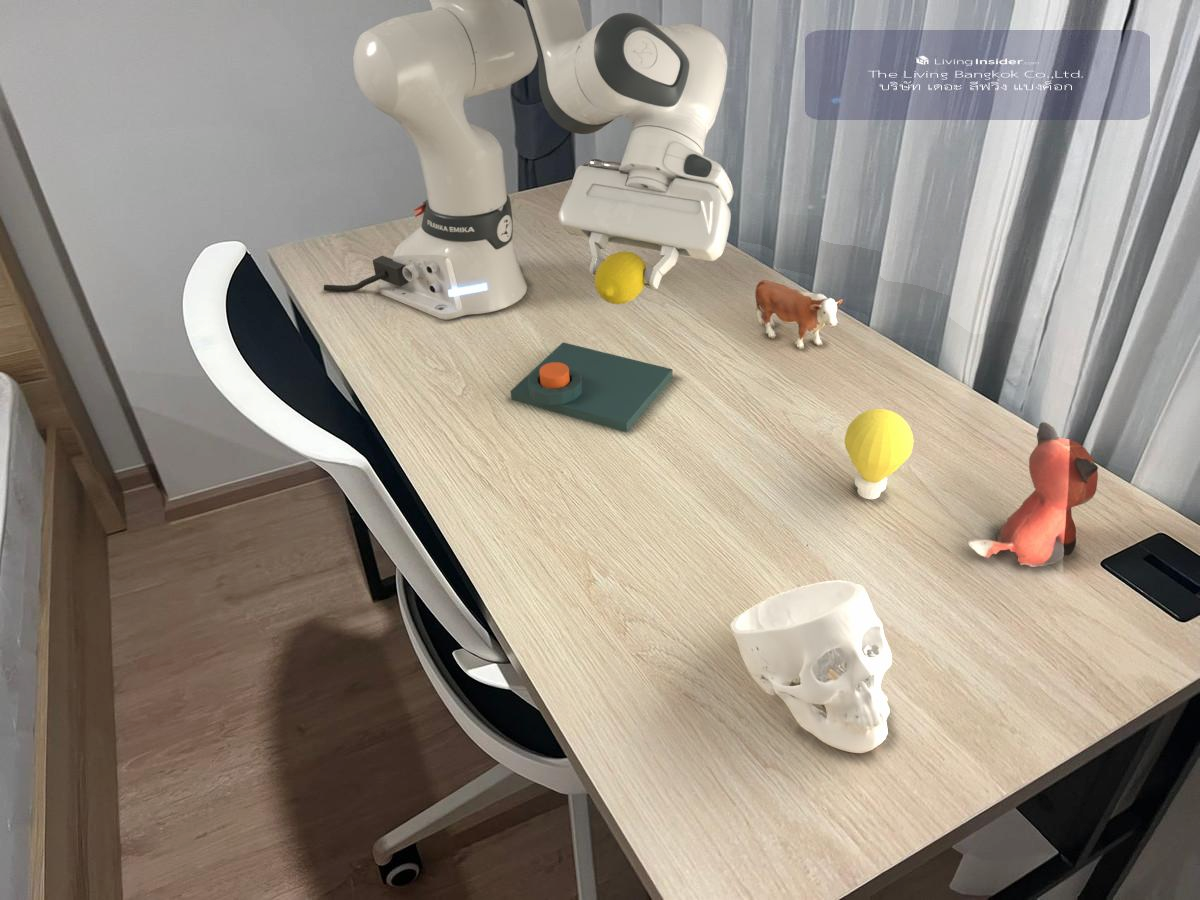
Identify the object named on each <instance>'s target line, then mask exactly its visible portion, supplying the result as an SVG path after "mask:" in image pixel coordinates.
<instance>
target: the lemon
mask: <svg viewBox="0 0 1200 900" xmlns="http://www.w3.org/2000/svg"><path fill="white" fill-rule="evenodd" d="M646 268H647V264H646V263H645V261H644V260H643V258H641V257H640V256H639V255H638V254H636V253H634V252H631V251H619V252H616V253H615V252H614V253H613V254H611V255H609V256H608V257H606V258H605V259H604V261H603V262H602V263H601V264H600V266H599V267H598V269H597V271H596V275H595V276H594V286H595V289H596V292H597V294H598V295H599V296H600V297H601V299H603V300H604V301H605V302H607V303H609V304H612V305H622V304H623V305H624V304H627V303H630V302H631V301H633V300H634V299H636V298H637V297H638V296H639V295H640V294H641V293H642V291H643V289H644V288H645V286H644V284H643V282H642V280H643V276H644V275H645V274H644V272H645V269H646Z"/></svg>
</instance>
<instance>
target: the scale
mask: <svg viewBox="0 0 1200 900" xmlns="http://www.w3.org/2000/svg"><path fill="white" fill-rule="evenodd" d="M553 362H558V363H563V364H565V365H567V366H568V368H569V377H570V382H569V384H568V385H567V386H565V387H562V388H559V389H548V388H545V387H542V385H541V384H540V373H539V370H540V368H541V367H542V366H543V365H545V364H548V363H553ZM672 379H673V369H672V368H668V367H665V366H661V365H657V364H654V363H649V362H645V361H641V360H636V359H633V358H628V357H626V356H625V357H624V356H620V355H616V354H613V353H608V352H604V351H601V350H597V349H593V348H587V347H583V346H580V345H575V344H571V343H567V342H561V344H560V345H558V346H557V347H556V348H554V350H553V351H551V353H549V354H548V355H547V356H546V357H545V358H544V359H543V360H542V361H541V362H540V363H539V364H538V365H537V366H535V368H534V369H532V370H531V371H530V372H529V373H527V375H526V376H525V377H524V378H523V379H522V380H521V381H520V382H519V383H517V384H516V385H514V387H513V388H512V389H510V398H511V401H514V402H517V403H521V404H524V405H528V406H531V407H535V408H537V409H538V408H539V409H542V410H544V411H545V410H546V411H549V412H553V413H557V414H560V415H563V416H566V417H571V418H574V419H578V420H581V421H585V422H587V423H591V424H595V425H598V426H602V427H604V428H605V427H606V428H609V429H612V430H616V431H619V432H623V433H628V432H629V430H631V428H632V427H633V426H634V425H635V424H636V422H637V421H638V420H639V419H640V418H641V416H642V415H643V414H644V413H645V412H646V411H647V409H648V408H649V407H650V406H651V404H652V403H653V402H654V401H655V400H656V399H657V398H658V396H659V395H660V394H661V393H662V391H663V390H664V389H665V388H666V387H667V386H668V384H669V383H670V382H671V380H672Z"/></svg>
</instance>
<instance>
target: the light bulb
mask: <svg viewBox="0 0 1200 900" xmlns="http://www.w3.org/2000/svg"><path fill="white" fill-rule="evenodd" d="M844 447H845V450H846V452H847V454H848V456H849V459H850V462H851V463H852V465H853V466H854V468H855V469H856V471H857V472H856V474H855V478H854V484H855V487H857V494H858V496H860V497H861V498H863V499H865V500H875V499H877V498H879V497H880V496H881V493H882V492H884V491H885V490H886V488H887V485H888V480H889V478H888V477H889V476H890V475H892V474H893V473H895V472H896V471H897V470H898V469H899V468H900V467H901V466H902V465H903V464H904V463H905V462H906V461H907V460H908V459H909V458H910V457H911V454H912V452H913V448H914V434H913V431H912V429H911V427H910V425H909V424H908V422H907V421H906V420H905V418H903V417H902V416H901V415H900V414H898V413H897V412H894V411H892V410H889V409H884V408H874V409H869V410H866V411H864V412H861V413H860V414H858V415H857V416H855V418H854V419H853V420H852V421H850V423H849V425H848V427H847V429H846V432H845V435H844Z"/></svg>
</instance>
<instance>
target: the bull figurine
mask: <svg viewBox="0 0 1200 900" xmlns="http://www.w3.org/2000/svg"><path fill="white" fill-rule="evenodd" d="M754 294H755V304H756V317H757V320H758V322H759V324H760V325H762V324H764V325H765V334H767V335H768V338H769V339H775V338H777V335H776V333H775V331H774V329H773V327H775V325H776V324H775V323H774V320H773V319H772V316H773V314H775V315H776V316H777V318H778V319H779V320H781V321H782V322H783V323H784V324H786V325H787V324H789V323H790V324H796V325H797V326H798V338H797V339H796V341H795V342H794V344H795V345H796V348H797V349H799V350H802V349H805V345H804V342H803V341H804V340H803V339H804V338H805V336H806V334H807V332H810V333H812V335H813V337H812V342H814V345H815V346H817V347H818V346H823V341H822V340H821V338H820V335H819V332H820V331H821V329H823V328H825V326H827V327H835V326H837V325H838V323H839V322H838V319H837V311H838V307H839V306H840V305H841V304H842V303H843V300H844V299H842V298H840V299H838V300H835V299H834V298H831V297H827V296H825V295H824V294H823V293H813V292H809V291H801V290H798V289H795V288H791V287H789V286H787V285H784V284H781V283H777V282H774V281H770V280H767V279H762V280H760V281H759V282H758V283H757V285H756V287H755V293H754Z"/></svg>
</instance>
